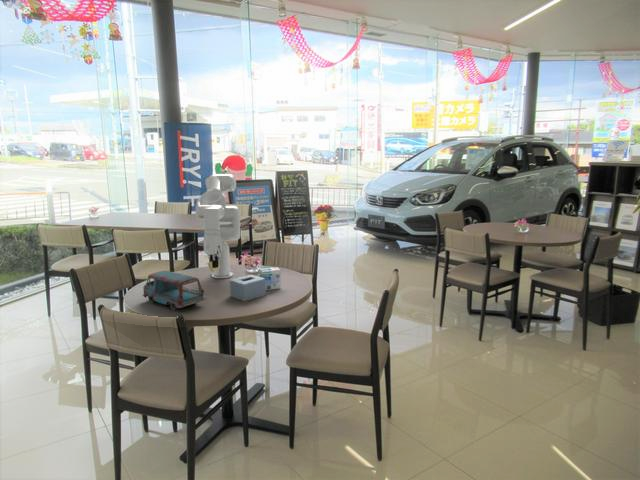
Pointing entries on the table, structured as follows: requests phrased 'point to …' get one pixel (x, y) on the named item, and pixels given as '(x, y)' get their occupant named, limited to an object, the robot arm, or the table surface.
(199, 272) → the table surface
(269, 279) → the light bulb box
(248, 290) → the box
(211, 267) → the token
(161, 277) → the toy van
